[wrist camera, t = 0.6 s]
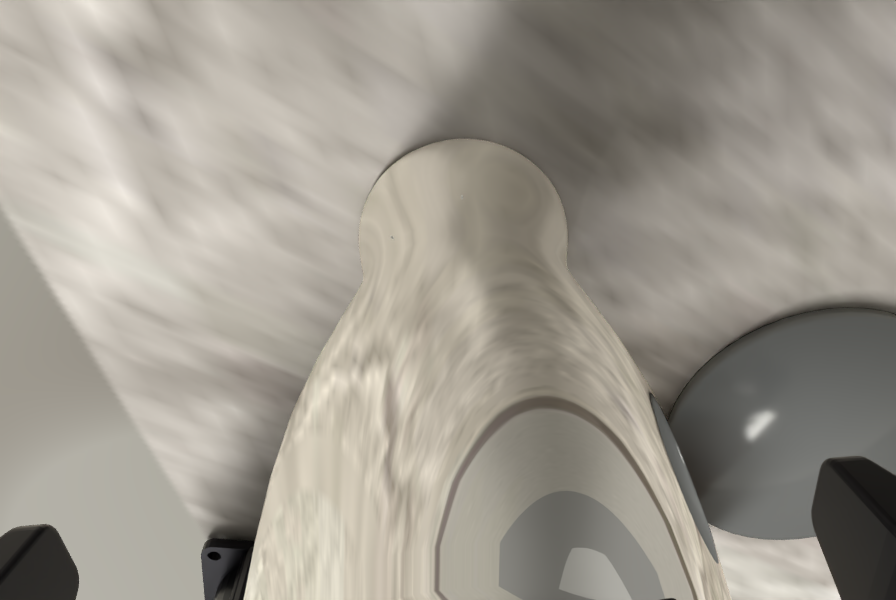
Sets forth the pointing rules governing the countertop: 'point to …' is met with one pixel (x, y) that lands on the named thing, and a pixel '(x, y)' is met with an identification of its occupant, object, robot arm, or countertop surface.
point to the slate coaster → (787, 417)
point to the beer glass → (477, 417)
